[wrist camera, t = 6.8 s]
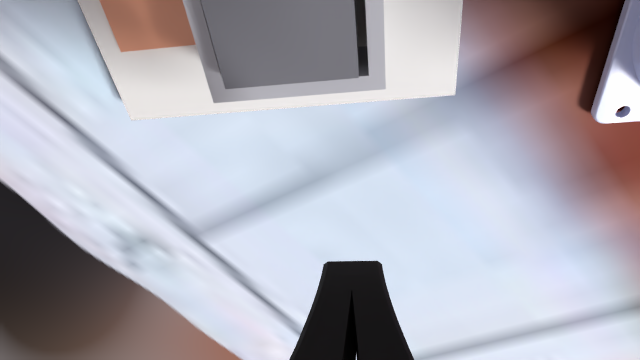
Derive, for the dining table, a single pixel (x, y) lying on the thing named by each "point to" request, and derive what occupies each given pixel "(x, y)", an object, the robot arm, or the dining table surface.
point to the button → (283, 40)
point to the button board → (212, 98)
